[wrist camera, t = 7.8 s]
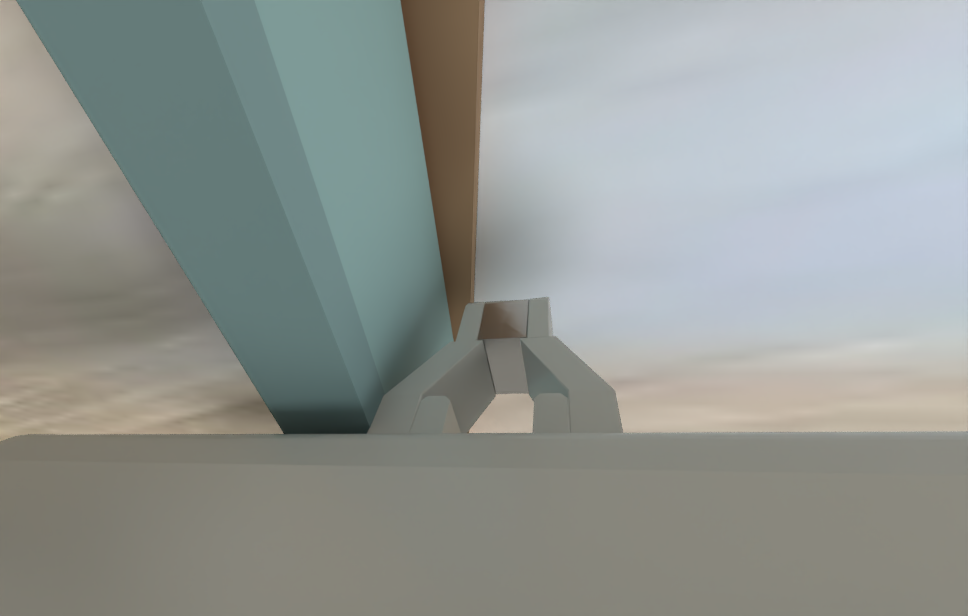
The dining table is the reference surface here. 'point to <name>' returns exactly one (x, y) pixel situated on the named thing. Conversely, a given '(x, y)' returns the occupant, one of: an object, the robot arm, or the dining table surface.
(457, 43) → the gate frame
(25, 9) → the gate
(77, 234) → the dining table surface
